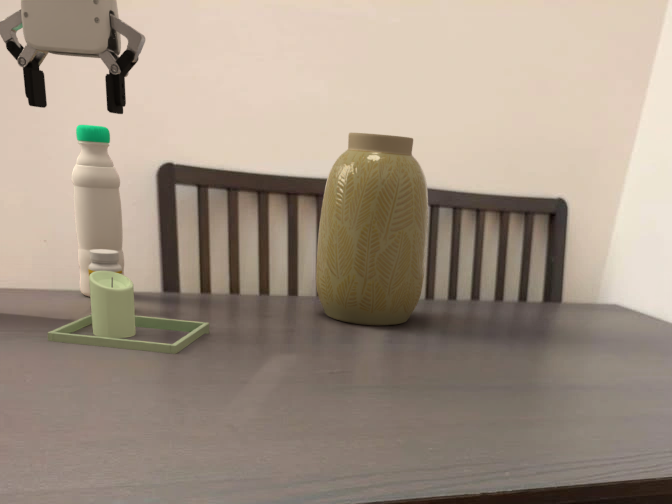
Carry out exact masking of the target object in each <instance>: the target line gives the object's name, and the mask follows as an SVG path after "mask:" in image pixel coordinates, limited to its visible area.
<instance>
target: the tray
mask: <svg viewBox="0 0 672 504" xmlns="http://www.w3.org/2000/svg"><path fill="white" fill-rule="evenodd" d="M90 325H92V313H90V314H88V315H86V316H85V315H84V316H83V317H81V318H79V319H76V320H74V321H72V322H69V323H67V324H65V325H62V326H59V327H57V328H55V329H52V330H50V331H48V332H47V341H48V342H54V343H55V342H56V343H65V344H74V345H75V344H76V345H83V346H84V345H85V346H95V347H103V348H113V349H115V348H116V349H123V350H124V349H125V350H133V351H143V352H153V353H163V354H173V355H176V354H178V353H180V352H181V351H182V350H183V349H186V348H187V347H188V346H189V345H191V344H192V343H193V342H195V341H196V340H198V339H199V338H201V337H202V336H203V335H210V322H204V321H196V320H195V321H193V320H186V319H185V320H183V319H174V318H164V317H154V316H143V315H135V328H146V329H155V330H164V331H176V332H183V333H185V332H186V335H184V336H182V337H181V338H179V339H178V340H177V341H175V342H174V343H165V342H155V341H145V340H137V339H127V338H108V337H98V336H95V335H86V334H76V333H74V332H77V331H79V330H81V329H84V328H85V327H87V326H90Z"/></svg>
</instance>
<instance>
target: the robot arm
mask: <svg viewBox="0 0 672 504" xmlns="http://www.w3.org/2000/svg"><path fill="white" fill-rule="evenodd" d="M21 29H22V33H23V34H22V35H23V38H24V41H25V43H26V45H25V46H23V45H22V43H20V41H19V40H18V37H17V32H18V31H19V30H21ZM121 35H122V36H123V37H124V38H126V39H127V45H126V49H125V50H124V51H123V52H122V53H121V51H122V36H121ZM0 37H1V39H2V41H3V43H4V44H5V48H6V50H7V51H8V52H9V54H10V55H11V56H12V57H13V58H14V60H16V62H17V64H18V66H19V67H20V68H22V74H23V84H24V93H25V97H26V98H27V102H28V106H30V107H34V108H43V109H45V108H47V106H48V103H47V90H46V80H45V73H44V71H43V70H41V69H40V67H41V65H42V63H43V62H44V60H45V59H46V57H47V56H48V54H52V55H57V56H67V57H80V58H92V59H93V58H94V59H100V60H101V62H102V63H103V64H104V65H105V67H106V68H107V70H108V73H106V74H105V79H104V81H105V95H106V97H105V98H106V110H107V112H108V113H110V114H115V115H116V114H117V115H123V114H124V107H126V104H127V99H126V98H127V97H126V79H125V78H127V77H128V75H129V72H130V71H131V70H132V69H133V67H134V66H135V65H136V64H137V63H138V62H139V58H140V54H141V52H142V50H143V48H144V46H145V43H146V37H145V35H144V34H142V33H141V32H140V31H138V30H137V29H136V28H134V27H132V26H131V25H129V24H128V23H126V22H125V21H123V20H122V19H121V18H120V17H119V9H118V2H117V0H20V9H19V10H17V11H15V12H13V13H11V14H10V15H9V16H6V18H3V19H2V20H0ZM119 55H120V56H119Z"/></svg>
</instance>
